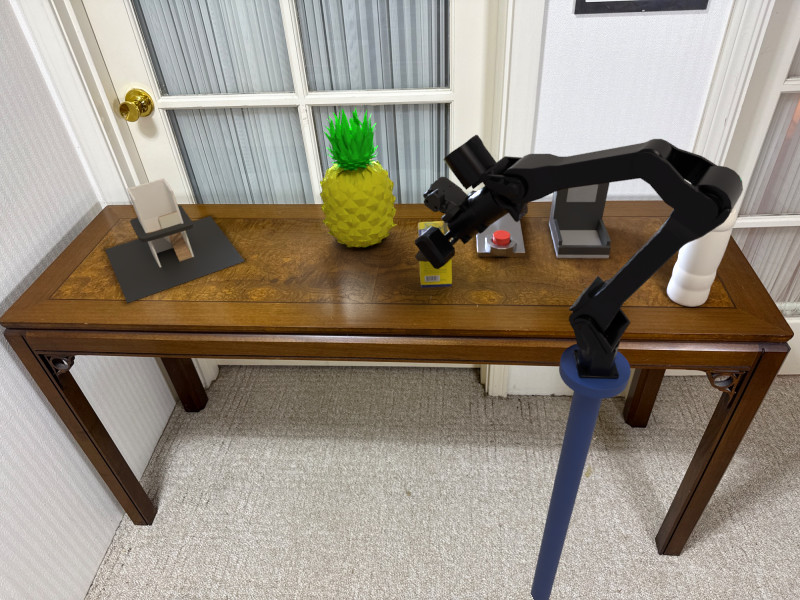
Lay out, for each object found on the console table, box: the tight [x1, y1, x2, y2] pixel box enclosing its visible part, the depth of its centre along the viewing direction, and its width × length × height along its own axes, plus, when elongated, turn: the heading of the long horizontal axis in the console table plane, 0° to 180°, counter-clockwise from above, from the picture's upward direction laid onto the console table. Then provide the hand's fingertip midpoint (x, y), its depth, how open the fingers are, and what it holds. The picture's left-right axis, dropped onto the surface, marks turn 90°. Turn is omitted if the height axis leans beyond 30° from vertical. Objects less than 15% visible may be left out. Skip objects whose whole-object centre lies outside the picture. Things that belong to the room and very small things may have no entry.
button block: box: [475, 213, 526, 258], centre depth 126 cm, size 19×10×3 cm, turn 176°
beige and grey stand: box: [104, 177, 245, 304], centre depth 122 cm, size 25×24×16 cm
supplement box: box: [417, 220, 453, 289], centre depth 104 cm, size 6×6×11 cm
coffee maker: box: [548, 183, 612, 259], centre depth 120 cm, size 14×11×14 cm
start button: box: [493, 230, 510, 246], centre depth 120 cm, size 4×4×2 cm
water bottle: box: [666, 178, 743, 308], centre depth 100 cm, size 7×7×25 cm
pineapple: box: [319, 107, 397, 248], centre depth 120 cm, size 17×17×30 cm
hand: (428, 247), depth 104 cm, fingers closed on supplement box, 8 cm apart
